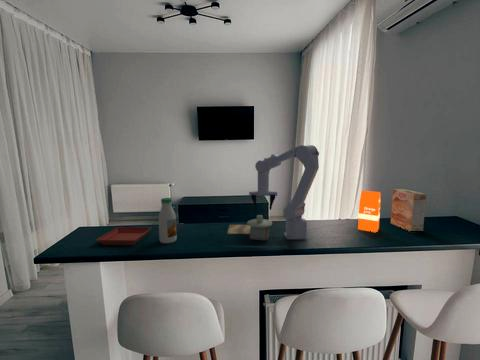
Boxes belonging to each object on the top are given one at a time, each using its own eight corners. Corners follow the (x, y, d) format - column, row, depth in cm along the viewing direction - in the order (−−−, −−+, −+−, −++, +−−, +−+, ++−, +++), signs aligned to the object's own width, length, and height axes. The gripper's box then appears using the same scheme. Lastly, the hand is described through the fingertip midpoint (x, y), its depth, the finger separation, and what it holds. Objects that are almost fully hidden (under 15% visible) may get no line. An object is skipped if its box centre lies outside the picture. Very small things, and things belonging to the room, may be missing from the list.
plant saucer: (117, 232, 130) (117, 226, 130) (152, 233, 129) (151, 227, 128) (96, 246, 112) (95, 239, 112) (135, 247, 111) (135, 240, 111)
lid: (269, 219, 124) (269, 212, 123) (274, 227, 112) (274, 219, 112) (245, 220, 123) (245, 212, 122) (248, 227, 112) (248, 219, 111)
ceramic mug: (267, 243, 113) (267, 227, 112) (249, 242, 115) (249, 225, 114) (270, 236, 123) (270, 220, 122) (254, 234, 125) (254, 219, 125)
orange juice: (360, 225, 138) (362, 189, 135) (378, 228, 133) (381, 191, 130) (357, 229, 132) (359, 191, 129) (376, 232, 126) (379, 193, 124)
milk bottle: (161, 245, 113) (159, 201, 110) (158, 239, 119) (156, 197, 117) (178, 241, 116) (176, 199, 113) (174, 236, 123) (172, 196, 120)
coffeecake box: (389, 223, 141) (392, 188, 139) (401, 222, 142) (404, 188, 140) (410, 232, 127) (413, 194, 124) (423, 231, 127) (427, 193, 125)
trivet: (255, 226, 137) (255, 224, 137) (255, 235, 123) (256, 233, 123) (229, 226, 138) (229, 224, 137) (227, 235, 124) (227, 233, 124)
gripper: (276, 182, 134) (276, 207, 136) (249, 182, 135) (249, 207, 137) (277, 184, 128) (277, 210, 129) (249, 184, 128) (249, 210, 130)
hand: (263, 209), depth 133 cm, fingers open, 7 cm apart
